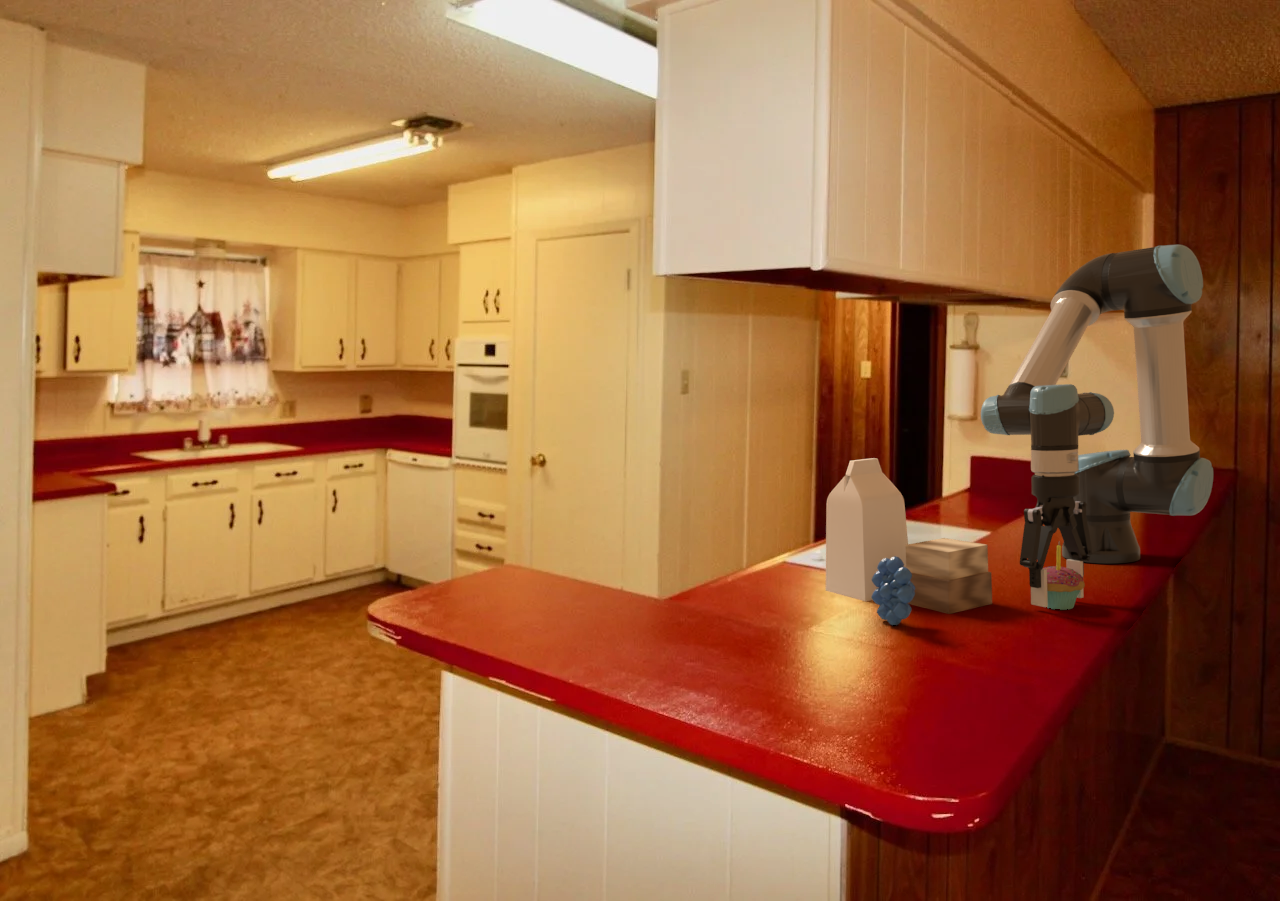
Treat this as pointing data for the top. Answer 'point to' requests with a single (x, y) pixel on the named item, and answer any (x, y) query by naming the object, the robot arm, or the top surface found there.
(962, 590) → the block bottom
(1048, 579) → the cupcake
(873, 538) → the milk
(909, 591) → the grapes
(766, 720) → the top surface
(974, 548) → the block top
